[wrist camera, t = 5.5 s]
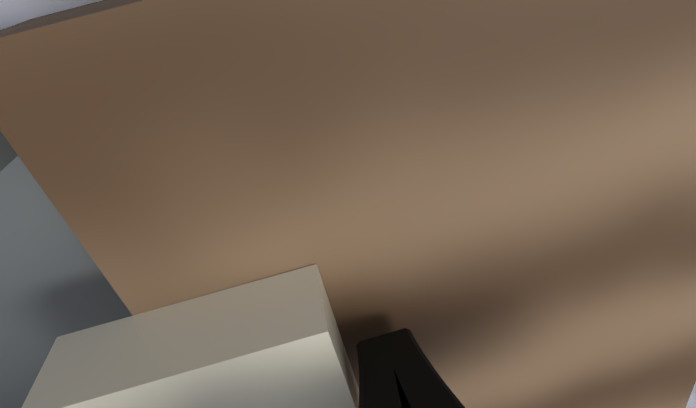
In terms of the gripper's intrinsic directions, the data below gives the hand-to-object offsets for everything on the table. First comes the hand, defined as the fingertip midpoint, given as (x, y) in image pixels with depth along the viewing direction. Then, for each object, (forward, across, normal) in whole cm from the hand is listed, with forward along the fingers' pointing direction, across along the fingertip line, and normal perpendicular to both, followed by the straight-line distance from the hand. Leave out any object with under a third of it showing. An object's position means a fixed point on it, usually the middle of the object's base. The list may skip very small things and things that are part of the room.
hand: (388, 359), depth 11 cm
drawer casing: (+4, -3, 0) cm, 5 cm away
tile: (+1, +4, 0) cm, 4 cm away
